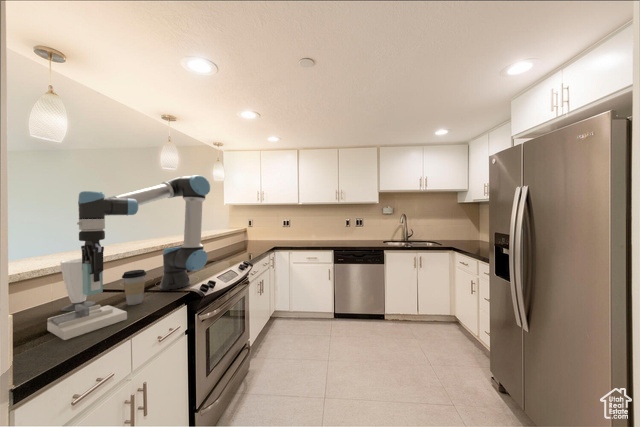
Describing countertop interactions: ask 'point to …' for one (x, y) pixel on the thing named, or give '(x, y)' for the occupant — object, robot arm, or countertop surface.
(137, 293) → the coffee cup
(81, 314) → the shutter
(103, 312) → the socket plate
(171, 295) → the countertop surface
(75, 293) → the cup
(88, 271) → the teal bottle
